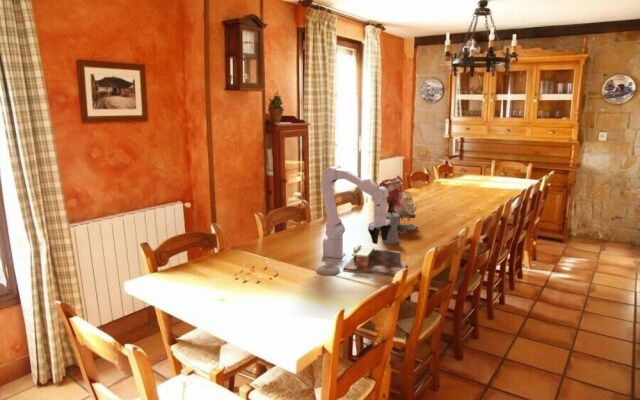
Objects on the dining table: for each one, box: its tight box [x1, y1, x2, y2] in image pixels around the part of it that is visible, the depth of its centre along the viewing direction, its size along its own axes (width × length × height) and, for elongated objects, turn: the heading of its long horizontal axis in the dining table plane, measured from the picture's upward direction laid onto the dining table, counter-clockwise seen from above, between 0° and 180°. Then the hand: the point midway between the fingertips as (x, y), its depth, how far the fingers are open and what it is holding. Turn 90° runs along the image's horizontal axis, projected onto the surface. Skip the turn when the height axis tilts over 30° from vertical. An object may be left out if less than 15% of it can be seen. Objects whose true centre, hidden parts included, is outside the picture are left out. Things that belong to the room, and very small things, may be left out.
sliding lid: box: [351, 244, 375, 257], centre depth 209 cm, size 7×13×2 cm, turn 160°
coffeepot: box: [381, 209, 401, 245], centre depth 247 cm, size 15×9×18 cm, turn 33°
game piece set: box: [234, 260, 279, 280], centre depth 202 cm, size 19×20×4 cm
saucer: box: [316, 264, 341, 276], centre depth 204 cm, size 10×10×1 cm
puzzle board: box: [342, 246, 408, 277], centre depth 207 cm, size 26×15×7 cm, turn 70°
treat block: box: [356, 256, 369, 268], centre depth 209 cm, size 4×4×6 cm
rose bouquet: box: [367, 177, 418, 235], centre depth 274 cm, size 26×29×30 cm
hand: (379, 241), depth 213 cm, fingers open, 7 cm apart
